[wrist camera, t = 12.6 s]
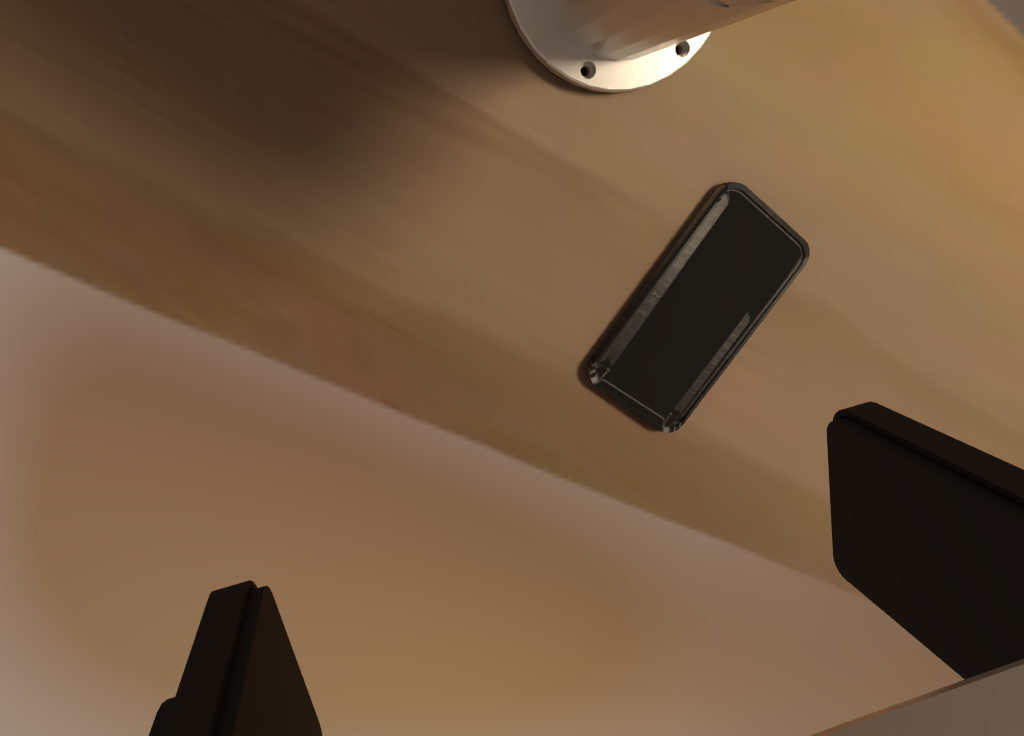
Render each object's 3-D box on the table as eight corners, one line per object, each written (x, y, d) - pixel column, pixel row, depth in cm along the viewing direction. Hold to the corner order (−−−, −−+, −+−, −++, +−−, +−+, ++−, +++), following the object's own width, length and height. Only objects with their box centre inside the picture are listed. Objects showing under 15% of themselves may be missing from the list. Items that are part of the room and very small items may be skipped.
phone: (582, 377, 43) (733, 174, 41) (577, 372, 44) (723, 174, 42) (672, 440, 45) (818, 251, 43) (665, 433, 46) (807, 249, 45)
